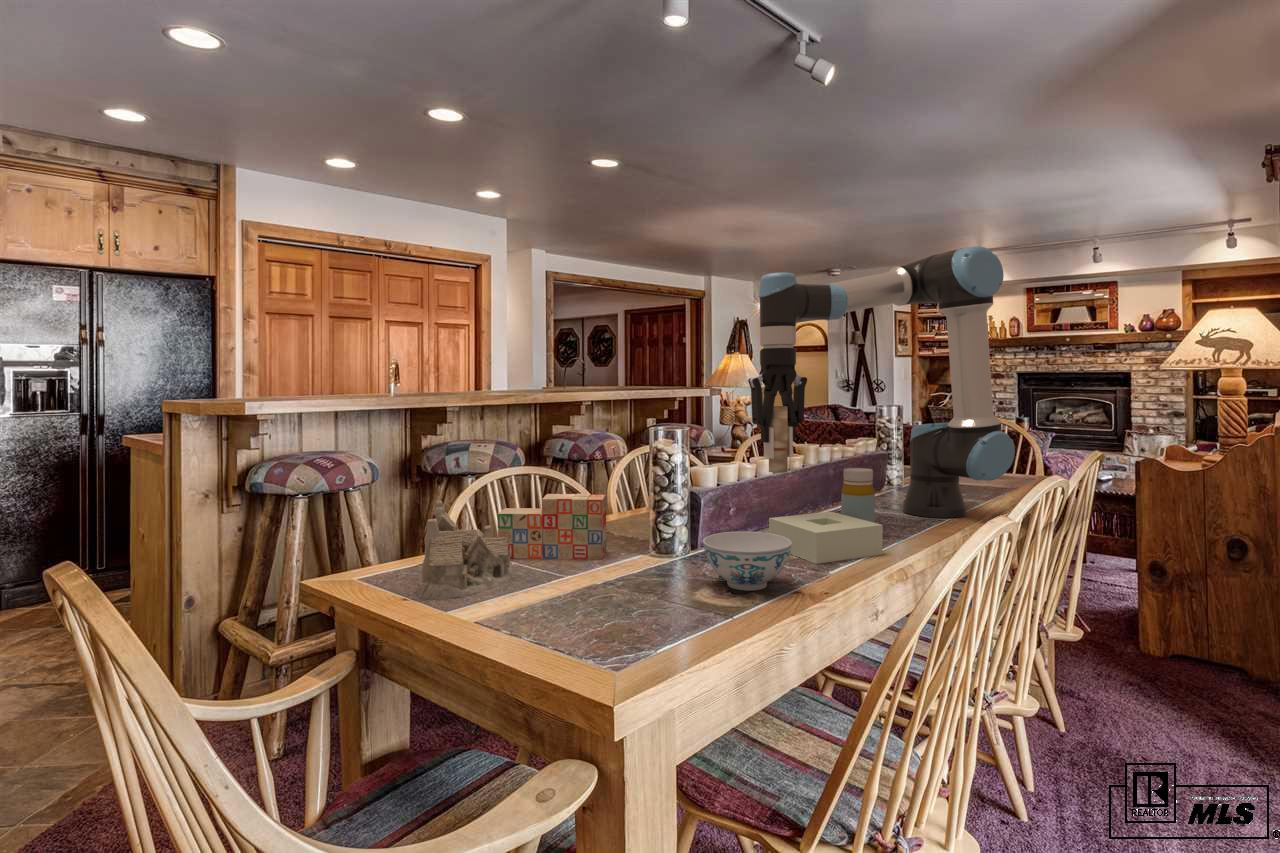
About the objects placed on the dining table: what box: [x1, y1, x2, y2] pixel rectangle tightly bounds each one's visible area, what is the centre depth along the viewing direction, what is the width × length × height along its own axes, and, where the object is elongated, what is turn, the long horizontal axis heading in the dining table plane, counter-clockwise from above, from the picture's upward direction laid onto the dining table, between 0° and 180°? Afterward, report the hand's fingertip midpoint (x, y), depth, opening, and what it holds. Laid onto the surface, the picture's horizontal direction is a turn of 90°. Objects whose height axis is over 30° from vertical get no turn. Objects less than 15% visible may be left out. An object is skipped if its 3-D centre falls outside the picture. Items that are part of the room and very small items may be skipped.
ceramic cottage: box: [416, 500, 512, 601], centre depth 126 cm, size 16×16×15 cm
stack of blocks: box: [496, 493, 607, 560], centre depth 146 cm, size 21×6×12 cm, turn 86°
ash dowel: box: [768, 405, 789, 474], centre depth 154 cm, size 4×4×14 cm
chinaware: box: [702, 531, 792, 592], centre depth 123 cm, size 15×15×8 cm
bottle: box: [840, 467, 876, 523], centre depth 158 cm, size 7×7×15 cm
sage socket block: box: [768, 511, 884, 565], centre depth 147 cm, size 16×16×6 cm
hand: (778, 456), depth 154 cm, fingers closed on ash dowel, 4 cm apart
